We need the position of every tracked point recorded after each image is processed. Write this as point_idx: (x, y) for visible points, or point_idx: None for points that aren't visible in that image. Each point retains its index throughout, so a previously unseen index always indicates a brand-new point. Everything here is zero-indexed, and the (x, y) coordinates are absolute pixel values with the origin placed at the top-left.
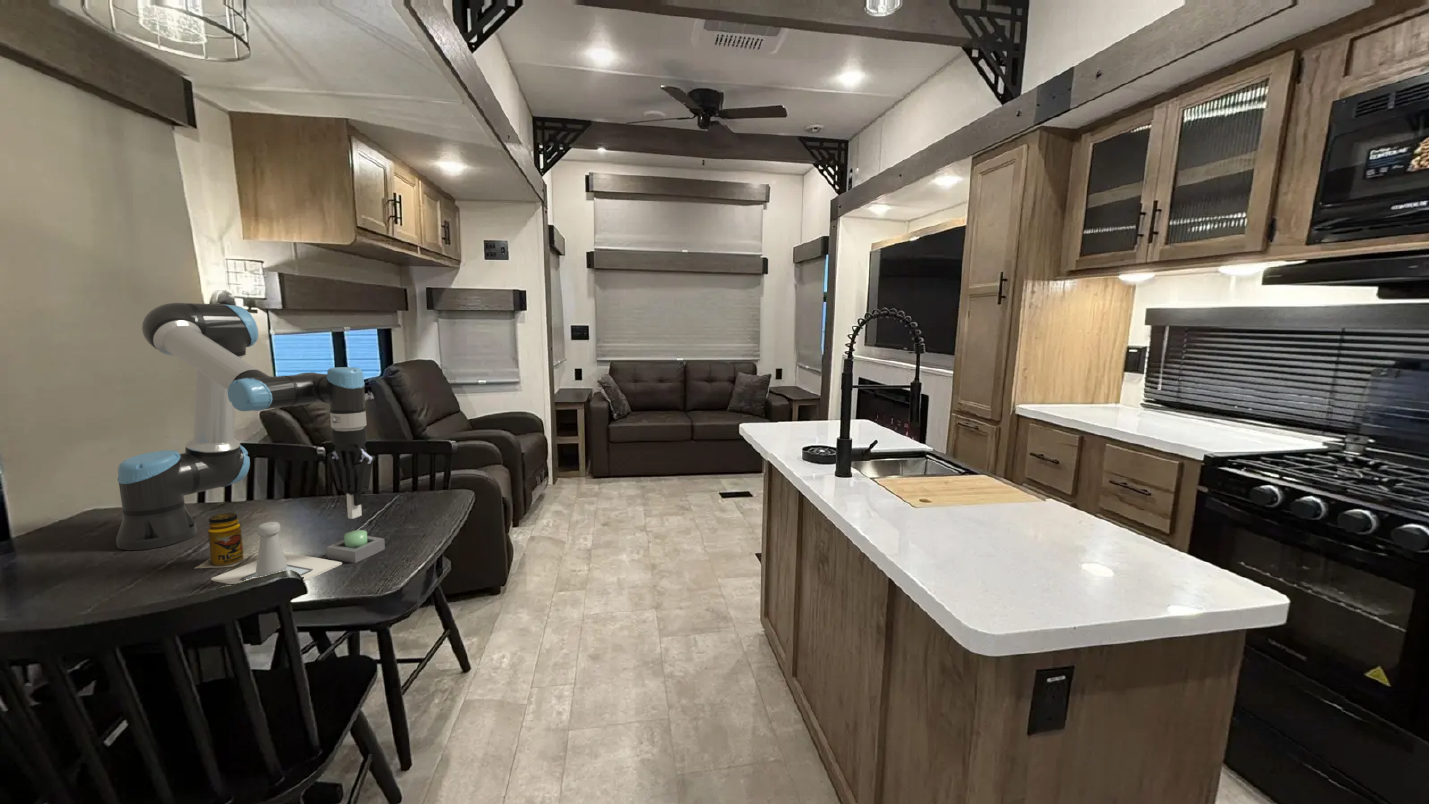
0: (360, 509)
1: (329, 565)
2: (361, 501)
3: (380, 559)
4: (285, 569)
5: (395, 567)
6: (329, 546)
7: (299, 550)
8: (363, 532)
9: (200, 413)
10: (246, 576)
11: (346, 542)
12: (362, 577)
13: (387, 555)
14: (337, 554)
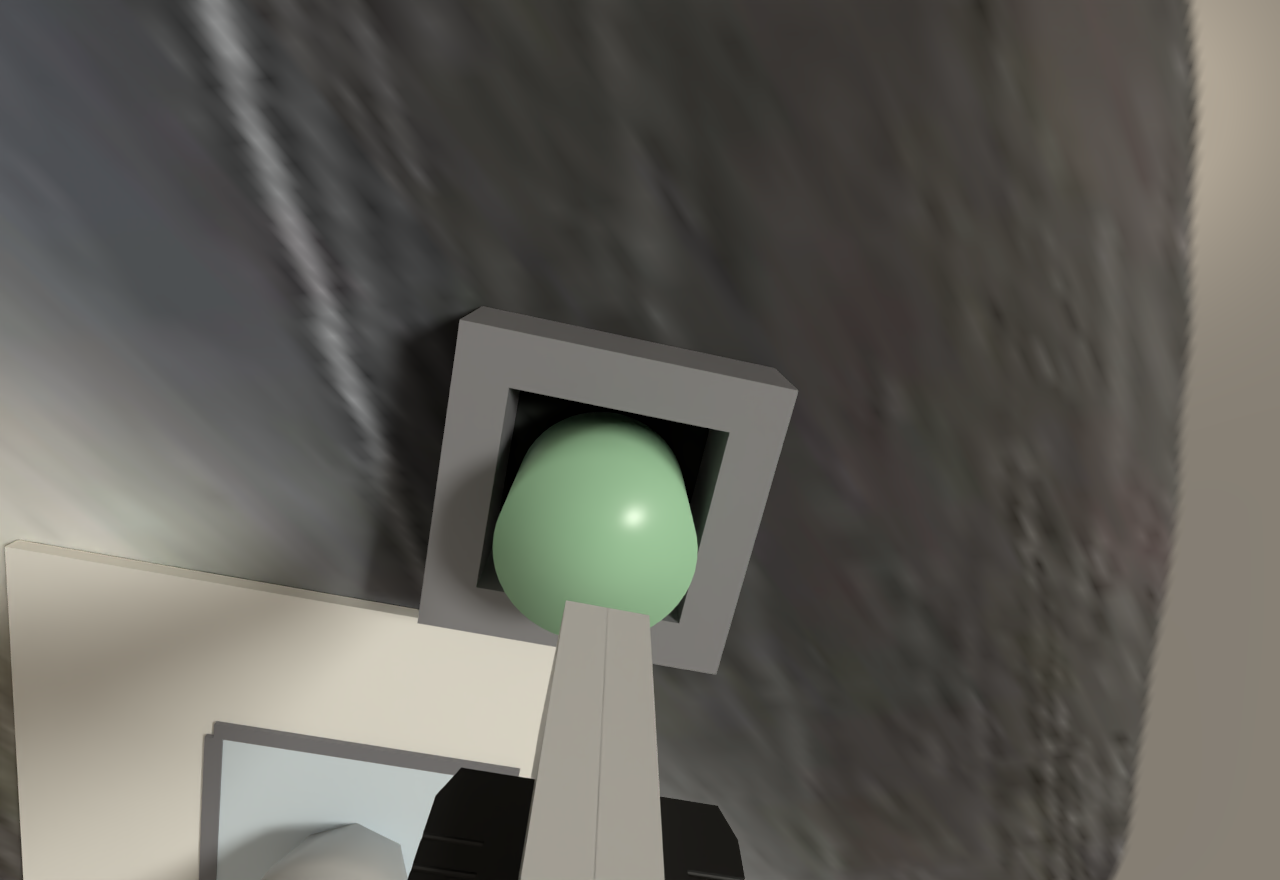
0: (647, 686)
1: None
2: (734, 872)
3: (845, 543)
4: (402, 874)
5: (1017, 641)
6: (431, 610)
7: (103, 476)
8: (654, 514)
9: None
10: None
11: None
12: (878, 780)
13: (859, 473)
14: None
